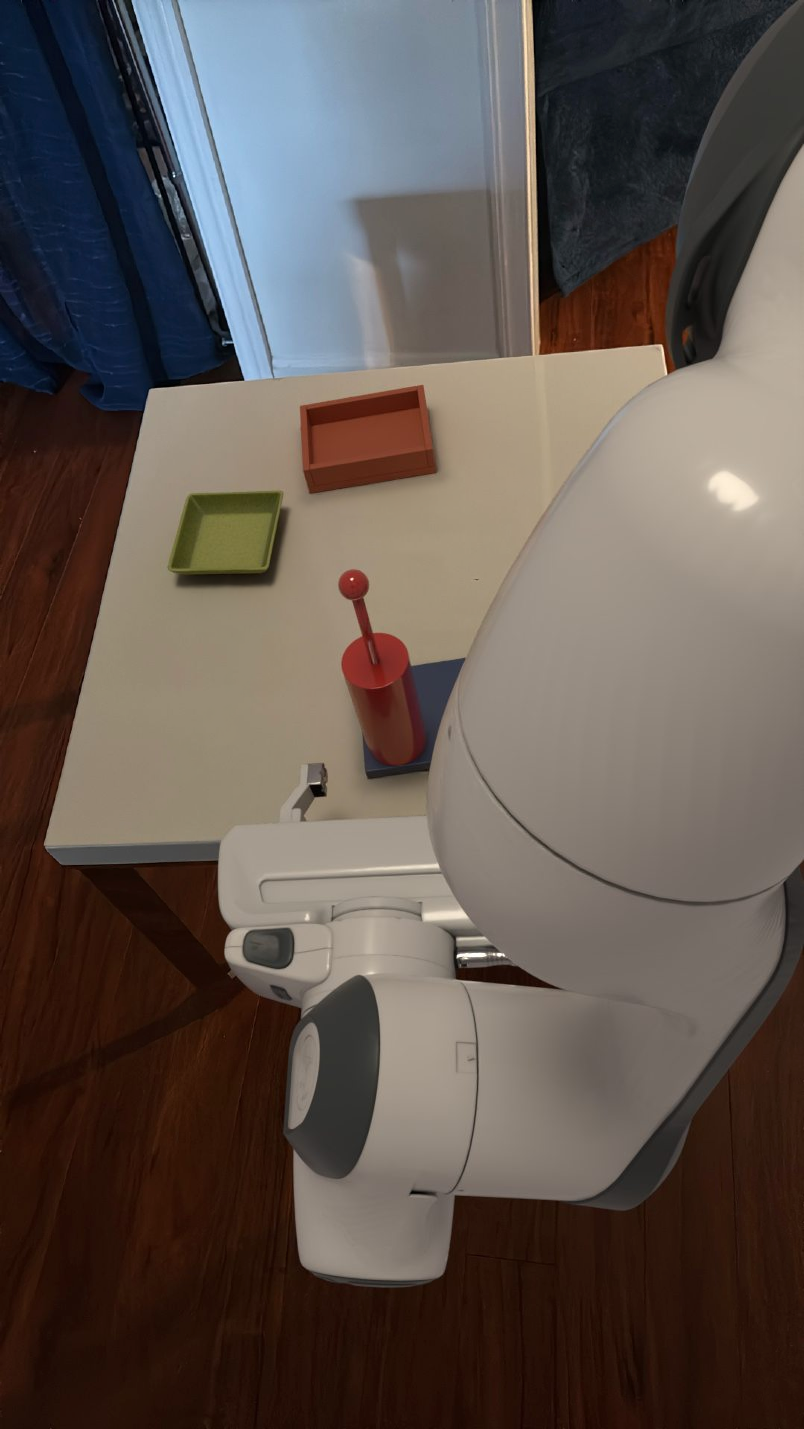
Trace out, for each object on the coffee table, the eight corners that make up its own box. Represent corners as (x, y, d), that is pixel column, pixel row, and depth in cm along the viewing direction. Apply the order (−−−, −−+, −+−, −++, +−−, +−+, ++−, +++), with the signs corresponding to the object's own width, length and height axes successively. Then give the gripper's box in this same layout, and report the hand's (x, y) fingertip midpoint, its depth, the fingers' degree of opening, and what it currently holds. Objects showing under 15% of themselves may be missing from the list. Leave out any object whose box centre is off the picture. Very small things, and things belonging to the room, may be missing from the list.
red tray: (427, 408, 95) (423, 384, 92) (436, 472, 90) (432, 448, 88) (306, 429, 95) (299, 405, 93) (309, 493, 91) (302, 470, 89)
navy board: (621, 641, 78) (622, 633, 77) (646, 738, 73) (646, 730, 73) (359, 681, 79) (357, 673, 79) (367, 778, 75) (365, 771, 74)
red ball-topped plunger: (424, 709, 76) (385, 540, 61) (430, 761, 74) (392, 598, 58) (364, 718, 76) (311, 552, 61) (369, 770, 74) (314, 610, 58)
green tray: (273, 585, 86) (267, 569, 84) (173, 586, 87) (165, 570, 86) (289, 506, 90) (284, 489, 89) (194, 509, 92) (187, 492, 90)
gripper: (559, 945, 57) (544, 728, 64) (196, 958, 59) (222, 747, 66) (561, 981, 62) (547, 777, 69) (228, 991, 64) (248, 793, 72)
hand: (385, 762), depth 68 cm, fingers open, 8 cm apart
